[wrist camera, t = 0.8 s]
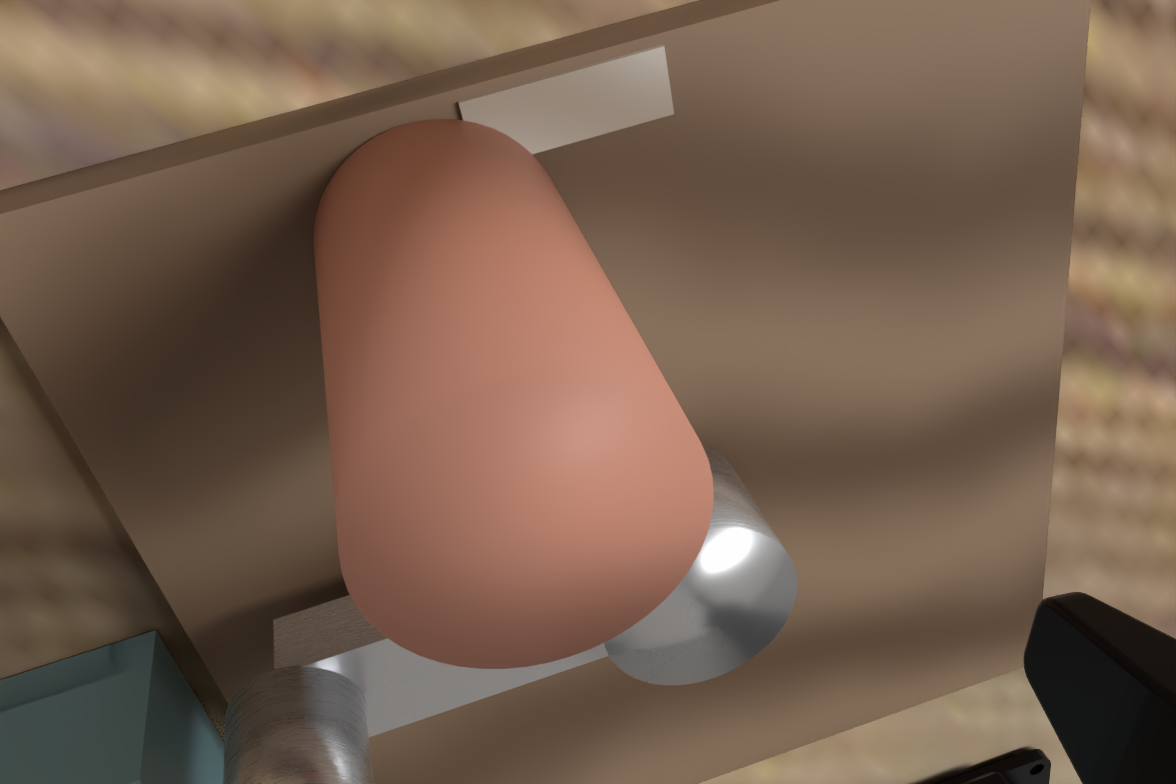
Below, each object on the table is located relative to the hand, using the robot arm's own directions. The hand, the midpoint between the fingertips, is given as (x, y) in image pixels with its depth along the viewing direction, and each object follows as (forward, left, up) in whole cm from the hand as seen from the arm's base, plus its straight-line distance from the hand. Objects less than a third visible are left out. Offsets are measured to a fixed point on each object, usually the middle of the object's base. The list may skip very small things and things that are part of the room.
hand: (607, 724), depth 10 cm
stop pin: (0, 0, -11) cm, 11 cm away
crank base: (-7, -3, -12) cm, 15 cm away
